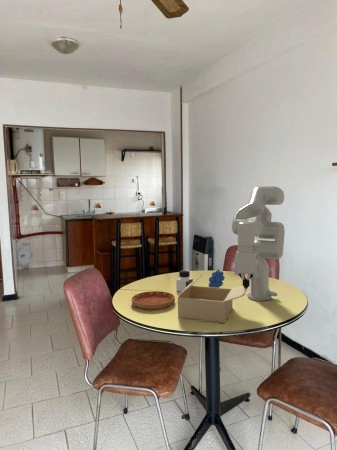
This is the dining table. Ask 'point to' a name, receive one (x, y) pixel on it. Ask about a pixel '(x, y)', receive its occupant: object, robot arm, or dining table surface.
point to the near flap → (236, 293)
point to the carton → (204, 304)
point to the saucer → (153, 300)
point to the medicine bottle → (183, 280)
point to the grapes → (216, 279)
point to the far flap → (189, 285)
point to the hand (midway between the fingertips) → (246, 287)
